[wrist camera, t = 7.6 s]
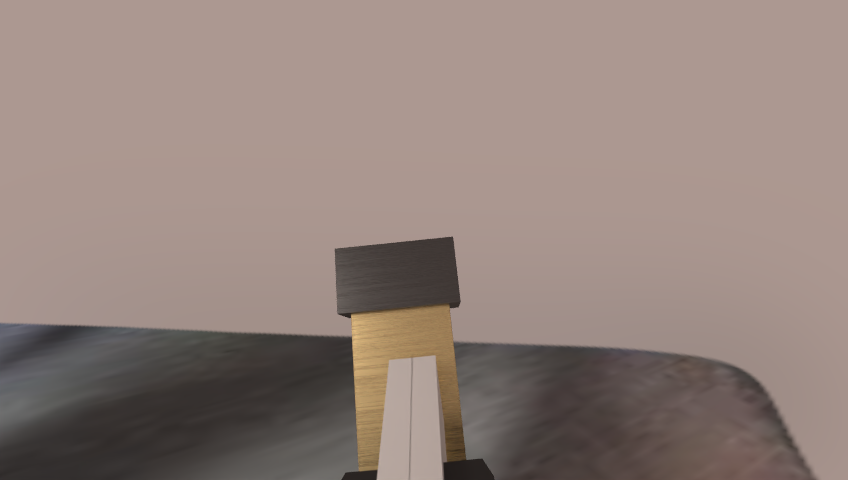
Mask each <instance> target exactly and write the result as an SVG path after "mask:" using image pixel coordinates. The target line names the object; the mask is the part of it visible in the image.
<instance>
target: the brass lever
mask: <svg viewBox="0 0 848 480" xmlns="http://www.w3.org/2000/svg"><path fill="white" fill-rule="evenodd" d="M335 265H336V289H337V311H338V314H339V315H342V316H345V317H348V318H351V322H352V343H353V363H354V382H355V402H356V422H357V442H358V461H359V471H369V470H378V463H379V454H380V444H381V434H382V425H383V415H384V405H385V396H386V386H387V376H388V367H389V360H394V359H404V358H414V357H424V356H433V355H435V356H436V363H437V371H438V379H439V387H440V394H441V402H442V410H443V418H444V429H445V443H446V457H447V462H452V461H462V460H466V455H465V445H464V436H463V427H462V418H461V409H460V400H459V390H458V381H457V372H456V363H455V354H454V344H453V335H452V327H451V317H450V308H456V307H459V304H460V294H459V285H458V276H457V267H456V259H455V250H454V241H453V237H445V238H437V239H426V240H416V241H406V242H397V243H387V244H377V245H367V246H359V247H348V248H338V249H335Z"/></svg>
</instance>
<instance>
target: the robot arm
mask: <svg viewBox="0 0 848 480" xmlns="http://www.w3.org/2000/svg"><path fill="white" fill-rule="evenodd" d="M342 480H494V476H493V474H492V473H491V471H490V470H489V468H488V467H487V465H486V464H485V462H484V461H483V459H473V460H462V461H452V462H447V457H446V443H445V429H444V418H443V410H442V402H441V394H440V387H439V379H438V371H437V363H436V356H435V355H433V356H424V357H414V358H404V359H394V360H389V367H388V376H387V386H386V396H385V405H384V415H383V425H382V434H381V444H380V454H379V463H378V470H369V471H358V472H348V473H345V475H344V477H343V478H342Z"/></svg>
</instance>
